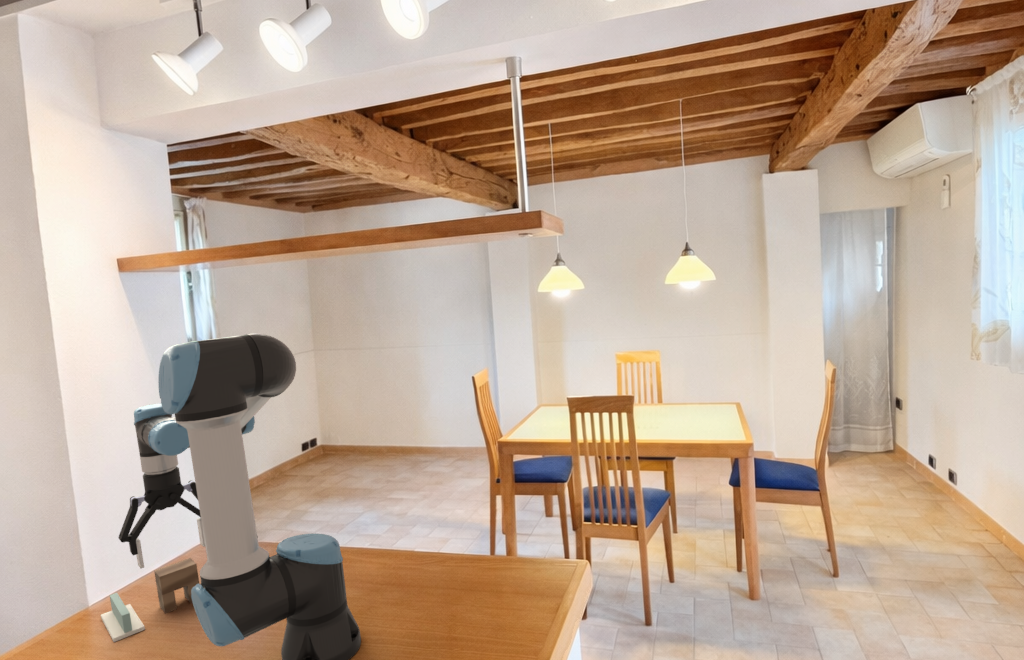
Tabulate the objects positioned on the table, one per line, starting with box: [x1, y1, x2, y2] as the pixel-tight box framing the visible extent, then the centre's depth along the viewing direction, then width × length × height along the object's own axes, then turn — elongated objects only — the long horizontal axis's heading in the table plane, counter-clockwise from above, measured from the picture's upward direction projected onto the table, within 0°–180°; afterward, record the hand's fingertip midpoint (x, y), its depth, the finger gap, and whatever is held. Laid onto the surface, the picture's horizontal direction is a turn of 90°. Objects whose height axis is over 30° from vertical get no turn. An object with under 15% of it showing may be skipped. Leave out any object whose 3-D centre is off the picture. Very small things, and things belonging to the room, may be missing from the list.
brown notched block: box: [153, 557, 200, 614], centre depth 148 cm, size 5×8×9 cm, turn 133°
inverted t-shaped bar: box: [100, 592, 146, 643], centre depth 141 cm, size 15×6×5 cm, turn 43°
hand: (173, 555), depth 147 cm, fingers open, 13 cm apart
